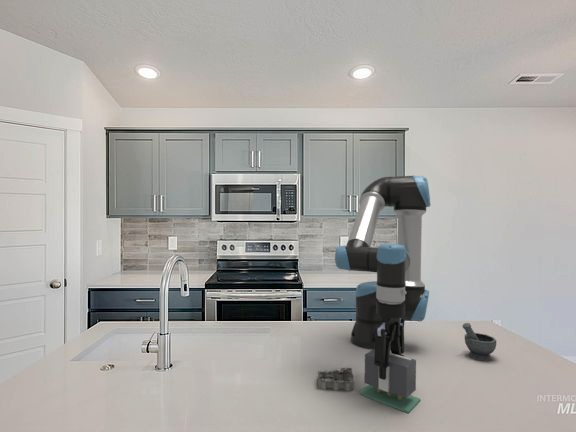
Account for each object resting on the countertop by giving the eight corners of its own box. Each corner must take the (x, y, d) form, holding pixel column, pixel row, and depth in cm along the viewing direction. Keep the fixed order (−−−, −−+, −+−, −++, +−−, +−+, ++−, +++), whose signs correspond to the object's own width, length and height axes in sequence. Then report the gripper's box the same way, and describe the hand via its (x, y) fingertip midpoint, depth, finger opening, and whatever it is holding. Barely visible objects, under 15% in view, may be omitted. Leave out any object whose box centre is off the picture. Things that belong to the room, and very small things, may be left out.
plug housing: (364, 383, 97) (364, 353, 97) (374, 375, 102) (375, 347, 102) (406, 398, 89) (406, 366, 89) (415, 389, 94) (416, 359, 94)
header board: (359, 393, 97) (359, 373, 97) (373, 383, 103) (373, 364, 103) (408, 413, 88) (408, 391, 88) (420, 400, 94) (420, 380, 94)
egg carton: (353, 380, 106) (353, 367, 106) (354, 393, 98) (354, 379, 98) (317, 378, 107) (317, 364, 107) (316, 390, 100) (316, 376, 100)
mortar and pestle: (485, 351, 129) (485, 318, 128) (502, 362, 119) (502, 327, 119) (455, 351, 128) (455, 319, 128) (470, 362, 119) (470, 327, 119)
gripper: (387, 310, 86) (386, 404, 86) (417, 297, 100) (416, 378, 100) (360, 304, 91) (359, 393, 91) (392, 293, 105) (391, 370, 105)
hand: (389, 385), depth 96 cm, fingers closed on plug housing, 6 cm apart
